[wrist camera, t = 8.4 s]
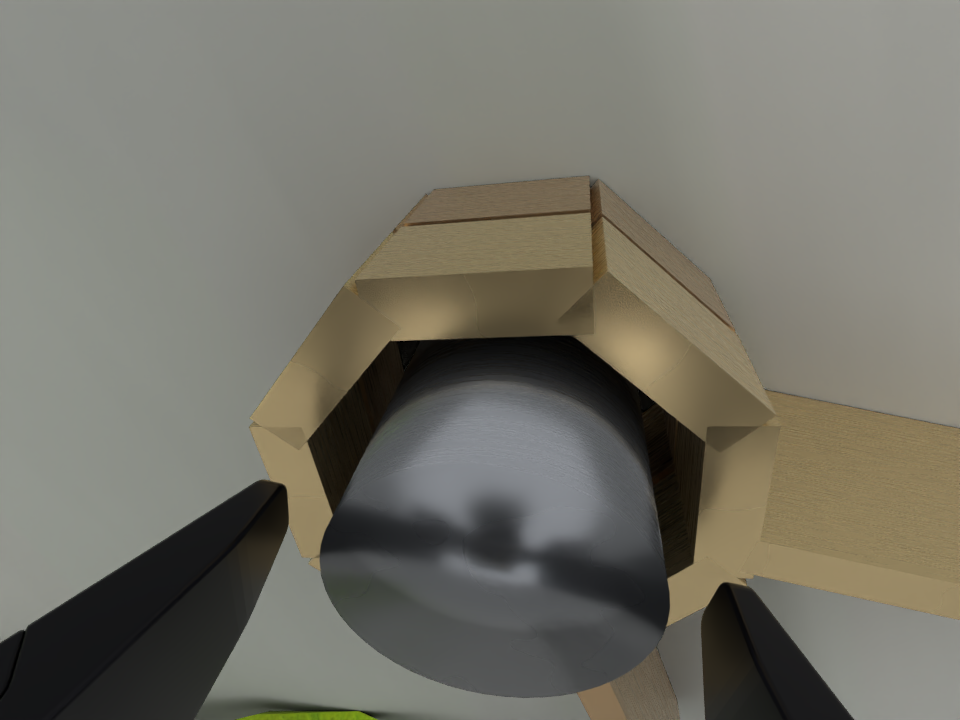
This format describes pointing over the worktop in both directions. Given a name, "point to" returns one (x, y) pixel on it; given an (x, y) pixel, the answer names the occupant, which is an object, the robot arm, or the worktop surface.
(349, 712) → the decorative plant
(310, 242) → the worktop surface
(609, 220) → the hinge
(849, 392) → the worktop surface
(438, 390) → the hinge pin
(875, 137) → the worktop surface
